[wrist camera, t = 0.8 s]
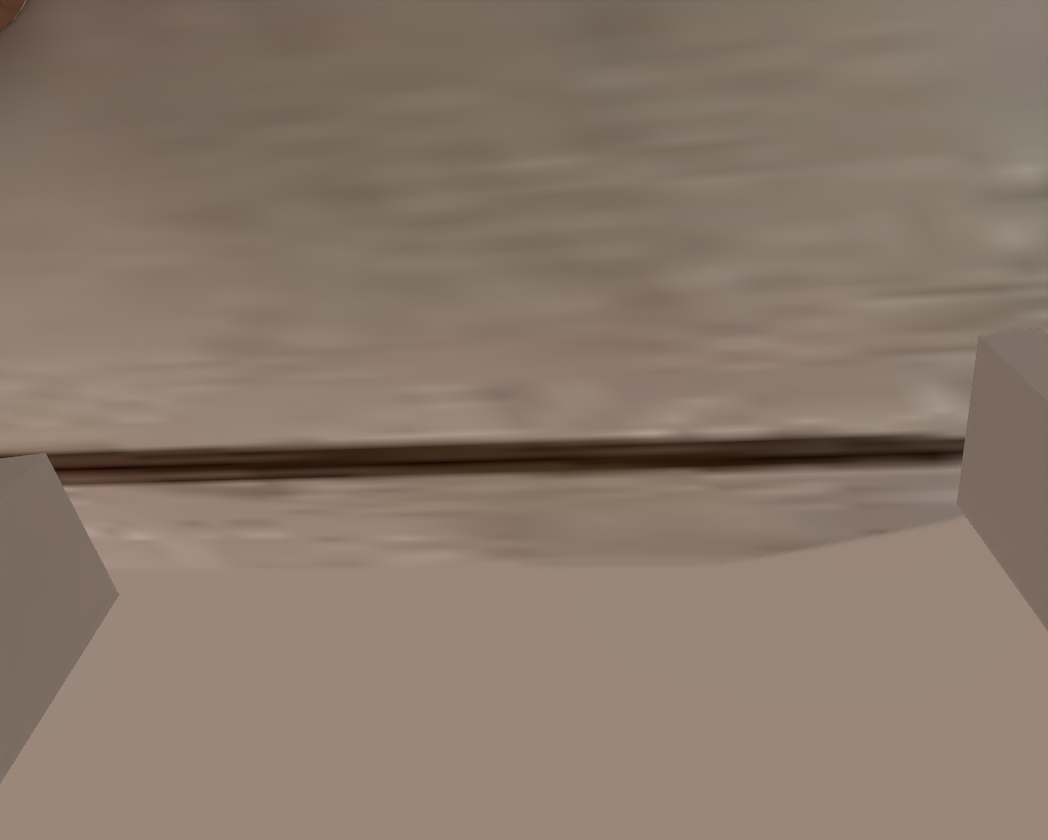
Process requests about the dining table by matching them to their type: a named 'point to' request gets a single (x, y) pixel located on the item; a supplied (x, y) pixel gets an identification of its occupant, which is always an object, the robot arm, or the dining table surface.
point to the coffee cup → (9, 11)
